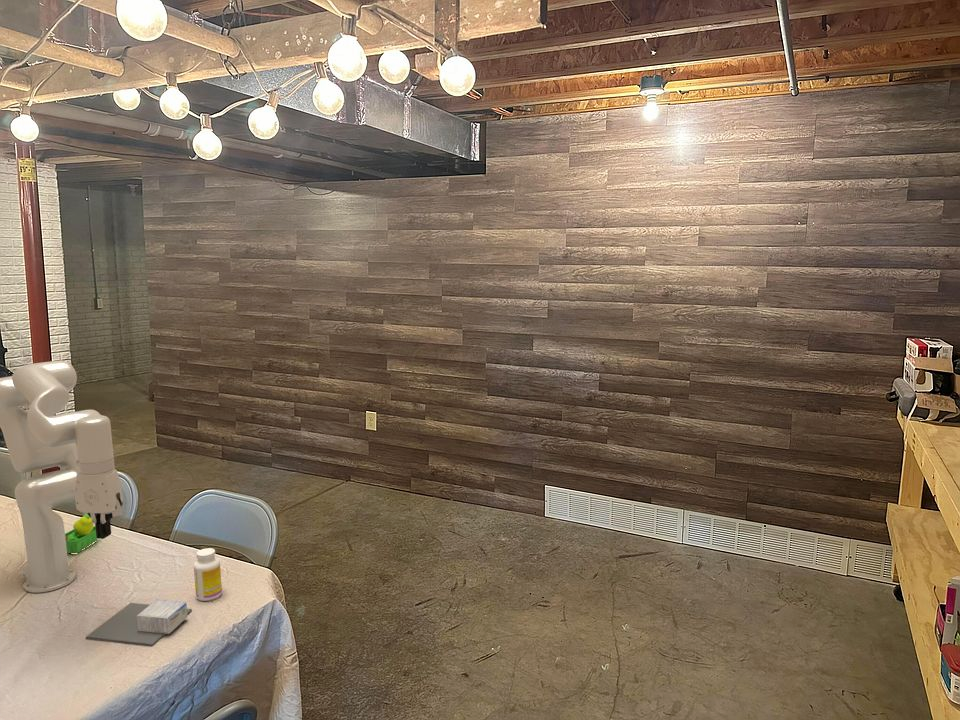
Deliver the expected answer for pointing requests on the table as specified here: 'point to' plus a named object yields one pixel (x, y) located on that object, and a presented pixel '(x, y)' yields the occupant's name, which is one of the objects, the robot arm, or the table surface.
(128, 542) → the table surface
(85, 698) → the table surface
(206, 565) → the supplement bottle
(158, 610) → the medicine box
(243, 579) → the table surface
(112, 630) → the mat
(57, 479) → the robot arm
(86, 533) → the fruit basket
